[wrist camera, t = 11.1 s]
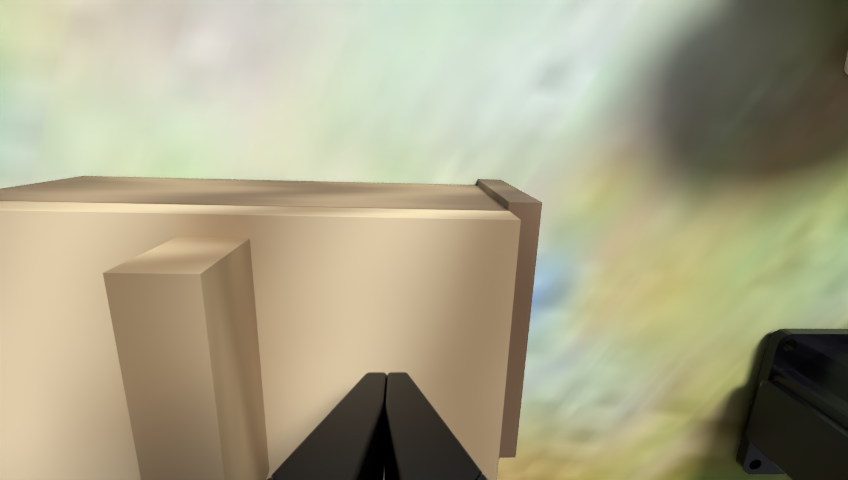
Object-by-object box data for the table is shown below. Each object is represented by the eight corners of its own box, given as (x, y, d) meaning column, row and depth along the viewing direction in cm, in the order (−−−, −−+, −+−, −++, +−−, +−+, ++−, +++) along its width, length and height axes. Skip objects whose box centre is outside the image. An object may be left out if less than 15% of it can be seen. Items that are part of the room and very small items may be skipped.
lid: (509, 211, 10) (557, 249, 7) (488, 454, 12) (519, 571, 9) (-69, 199, 9) (-309, 235, 6) (5, 459, 11) (-150, 588, 8)
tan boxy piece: (500, 179, 14) (542, 202, 10) (486, 370, 16) (515, 457, 12) (81, 169, 13) (-67, 189, 9) (119, 370, 15) (10, 463, 11)
